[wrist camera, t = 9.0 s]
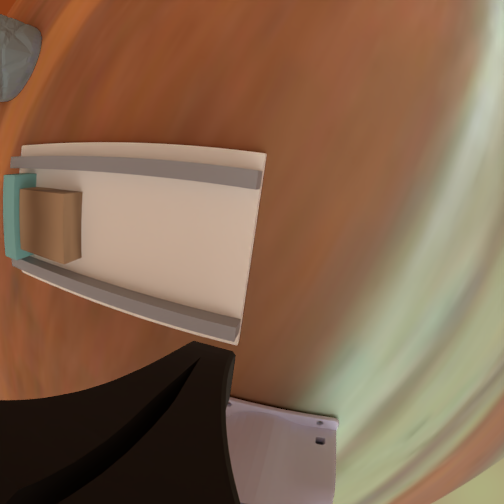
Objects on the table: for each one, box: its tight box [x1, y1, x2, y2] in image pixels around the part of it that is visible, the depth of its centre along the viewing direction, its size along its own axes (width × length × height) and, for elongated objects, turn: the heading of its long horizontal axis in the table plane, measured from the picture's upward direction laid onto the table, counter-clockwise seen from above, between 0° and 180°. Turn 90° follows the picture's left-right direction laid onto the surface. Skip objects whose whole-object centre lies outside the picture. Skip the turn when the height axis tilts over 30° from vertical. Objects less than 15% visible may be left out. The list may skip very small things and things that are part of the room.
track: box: [3, 142, 267, 345], centre depth 18 cm, size 22×12×3 cm, turn 82°
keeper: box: [19, 187, 83, 264], centre depth 19 cm, size 6×5×2 cm
